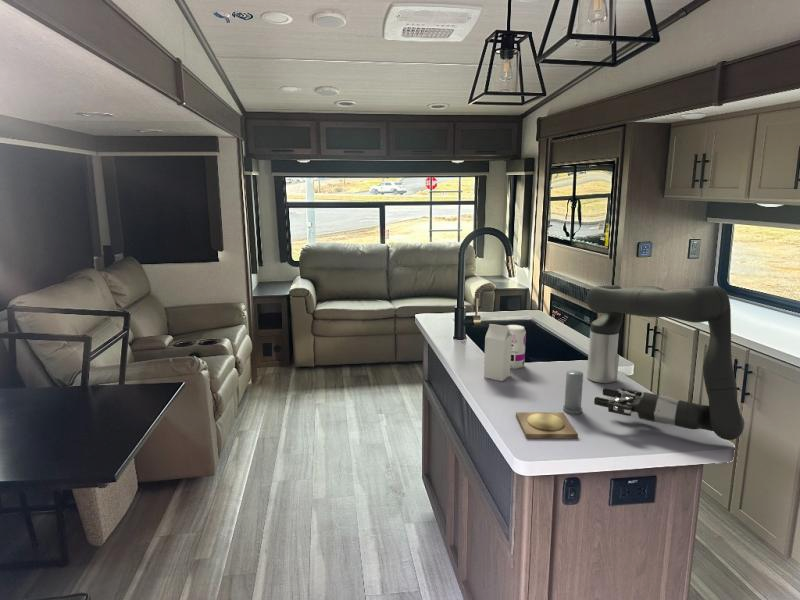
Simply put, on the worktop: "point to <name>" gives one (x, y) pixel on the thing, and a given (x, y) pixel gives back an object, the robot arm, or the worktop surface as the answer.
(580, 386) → the grey rounded cylinder
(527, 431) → the post base
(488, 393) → the worktop surface
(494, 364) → the milk carton
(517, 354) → the supplement can
